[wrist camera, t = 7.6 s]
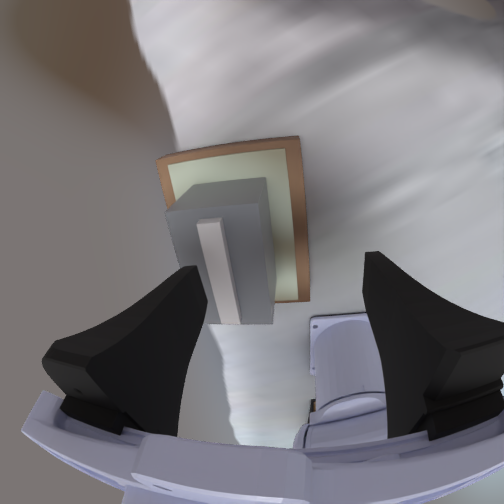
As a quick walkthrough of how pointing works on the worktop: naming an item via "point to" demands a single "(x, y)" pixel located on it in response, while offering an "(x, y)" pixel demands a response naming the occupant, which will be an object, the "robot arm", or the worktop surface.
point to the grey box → (228, 248)
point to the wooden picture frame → (279, 195)
